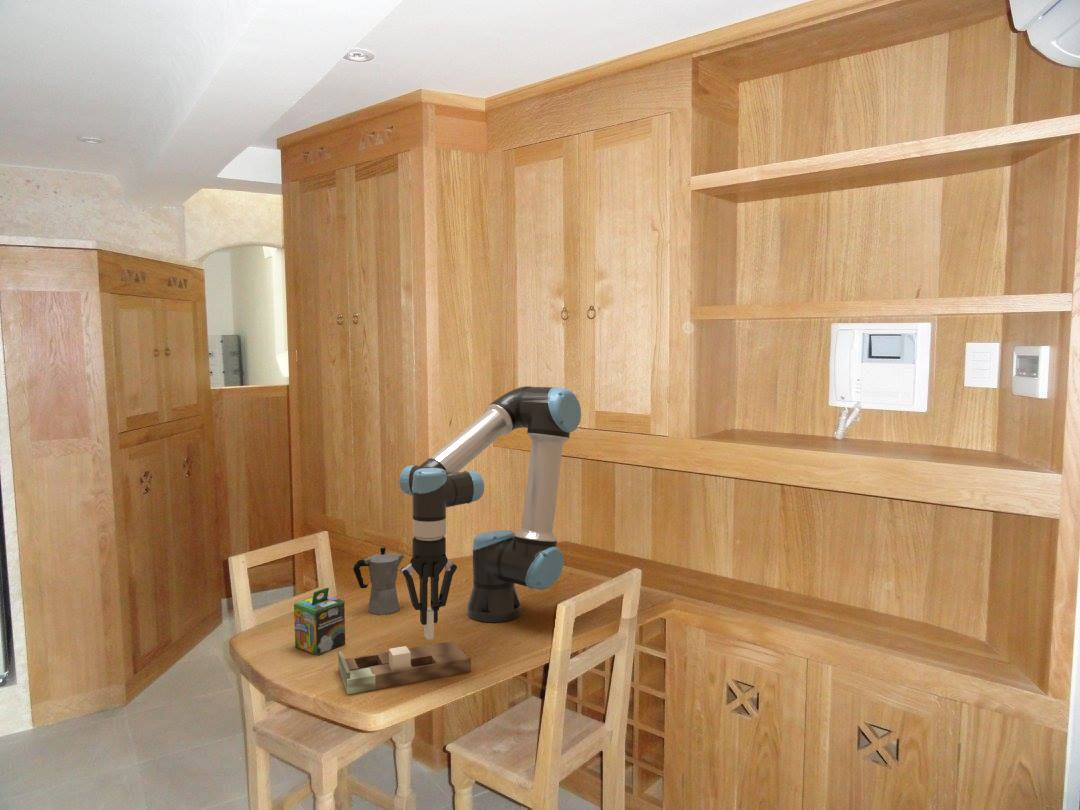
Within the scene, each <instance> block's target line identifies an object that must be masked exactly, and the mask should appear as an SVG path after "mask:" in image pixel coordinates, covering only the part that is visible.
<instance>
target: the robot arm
mask: <svg viewBox="0 0 1080 810" xmlns="http://www.w3.org/2000/svg"><path fill="white" fill-rule="evenodd" d="M581 408H582V407H581V404H580V401H579V399H578V398H577V396H576V394H575V393H574V392H573V391H571V390H570V389H567V388H561V387H555V386H553V387H549V386H548V387H546V386H531V385H530V386H527V385H524V386H520V387H518V388H514V389H512V390H509V391H508V392H506V393H504V394H502V395H501V396H499V397H498V398H496V399H495V400H494V401H492V402H491V403H490V404H488V405H487V406H486V407H485V409H484V412H483V414H482V415H481V416H479V417H478V418H477V419H476V420H474V421H473V422H472V423H471V424H470V425H468V426H467V427H466V428H465V429H463V430H462V431H461V432H460V433H458V434H456V436H455V437H453V438H452V439H450V441H449V442H447V443H446V444H445V445H443V446H442V447H441V448H440V449H439V450H438V451H436V452H435V453H433V455H431V456H430V457H429V458H427V460H425V461H424V462H422V463H421V464H420V465H417V464H415V465H407V466H406V467H404V468H403V469H402V471H401V472H400V474H399V478H398V479H399V481H398V482H399V483H398V485H399V487H400V490H401V491H402V492H403V493H404V494H406V495H409V496H411V497H412V500H411V501H412V536H413V538H412V557H411V559H410V561H409V564H408V565H407V566H406V567H402V568H400V572H401V573H402V575H403V576H404V578H405V583H406V585H407V590H408V595H409V598H410V602H411V606H412V607H413V609H415V611H419V612H420V613H419V621H420V624H421V625H422V626H423V628H424V629H423V630H424V631H423V633H424V634H423V635H424V637H425V639H426V640H427V641H428V640H434V638H435V636H434V631H435V630H434V629H435V627H434V626H435V625H434V624H437V623H438V621H439V618H438V616H439V610H440V608H441V607H445V606H446V605H447V603H448V602H447V601H448V597H449V592H450V588H451V585H452V580H453V575H454V573H455V572H456V570H457V569H458V565H456V564H455V563H454V562H453V561H452V562H451V561H449V559H448V557H447V555H446V553H447V552H446V549H447V547H446V545H447V541H446V539H447V538H446V537H445V535H446V534H447V524H446V523H447V521H446V520H447V508H450V507H455V506H456V507H457V506H461V505H465V504H468V505H469V504H471V503H473V502H476V501H478V500H480V499H482V497H483V495H484V492H485V482H484V478H483V477H482V476H481V474H479V472H477V471H475V470H470V471H469V470H464V471H461V470H462V469H464V468H465V466H468V464H469V463H470V462H472V461H473V460H474V459H475V458H476V457H478V456H479V455H480V454H481V453H482V452H483V451H484V450H486V449H487V448H488V447H489V446H490V445H492V444H493V443H494V442H495V441H496V440H498V438H500V437H501V436H502V435H503V436H505V435H508V434H510V433H511V432H513V431H514V430H516V429H520V428H521V429H523V428H525V429H527V432H526V435H527V436H528V438H529V439H530V441H531V445H530V452H529V461H528V468H527V469H528V470H527V476H526V486H525V492H524V501H523V509H522V516H521V526H520V529H519V530H518V531H516V533H515V532H514V531H513V530H508V529H498V530H491V531H485V532H482V533H478V534H477V535H475V536H474V538H473V545H472V572H473V573H472V575H473V577H472V579H473V580H472V581H473V586H472V587H473V588H472V590H471V592H470V596H469V599H468V603H467V608H466V611H467V616H468V617H469V618H470V619H472V620H474V621H478V622H483V623H503V622H508V621H511V620H515V619H517V618H518V617H519V616H521V614H522V605H521V601H520V598H519V595H518V592H517V588H516V585H519V586H524V587H527V588H528V589H531V590H532V589H535V590H540V591H543V590H547V589H550V588H551V587H552V586H554V585H555V583H556V582H557V581H558V580H559V578H560V576H561V574H562V572H563V568H564V564H565V563H564V561H565V560H564V556H563V552H562V550H561V549H560V548H559V547H557V546H558V545H557V542H558V538H557V537H556V536H555V534H554V533H553V530H554V529H553V528H554V522H555V514H556V505H557V498H558V497H557V495H558V490H559V489H558V488H559V481H560V480H559V479H560V472H561V471H560V470H561V463H562V457H563V455H562V454H563V449H564V448H563V447H564V445H565V444H566V442H568V441H570V435H571V433H573V432H574V431H576V430H577V429H578V427H579V425H580V423H581V419H582V409H581ZM443 569H444V570H445V571H444V574H443V579H442V583H441V587H440V589H439V581H440V574H441V572H442V571H443ZM413 570H414V571H415V572H416V574H417V576H418V579H419V599H418V594H417V590H416V587H415V583H414V582H415V581H414V578H413V574H414V573H413ZM429 578H430V607H428V598H429V597H428V592H429V591H428V584H429ZM515 584H516V585H515ZM439 590H440V591H439Z"/></svg>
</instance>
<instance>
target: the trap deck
mask: <svg viewBox="0 0 1080 810" xmlns="http://www.w3.org/2000/svg"><path fill="white" fill-rule="evenodd" d="M407 648H408V647H407ZM408 650H409V651H410V657H411V668H406V669H400V670H395V671H392V670H391V668H390V666H389V651H385V652H379V653H373V654H366V655H361V656H360V655H359V656H355V657H349V658H345V657H344V654H343V651H340V650H339V651H337V656H338V657H337V658H338V660H337V661H338V663H337V665H338V669H337V670H338V673H339V676H340V678H341V681H342V683H343V686H344V688H345V692H346V693H347V695H352V694H357V693H358V694H359V693H362V692H363V693H364V692H369V691H373V690H374V691H375V690H379V689H385V688H391V687H395V686H402V685H407V684H413V683H419V682H423V681H429V680H434V679H440V678H444V677H451V676H455V675H461V674H467V673H471V672H472V668H471V667H472V666H471V665H472V662H471V661H472V659H471V657H469V656H467V655H466V653H464V651H463V650H462V649H461V647H460V646H459V645H458V643H456V642H455V641H454V640H451V641H446V642H445V641H444V642H439V643H433V644H426V645H421V646H416V647H415V646H414V647H409V648H408Z"/></svg>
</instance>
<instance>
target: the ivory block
mask: <svg viewBox="0 0 1080 810" xmlns="http://www.w3.org/2000/svg"><path fill="white" fill-rule="evenodd" d="M388 652H389V666H390V668H391V670H392V671H395V670H400V669H406V668H411V657H410V651H409V650H408V647H407V645H404V646H398V647H392V648H388Z"/></svg>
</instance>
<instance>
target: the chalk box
mask: <svg viewBox="0 0 1080 810" xmlns="http://www.w3.org/2000/svg"><path fill="white" fill-rule="evenodd" d="M329 592H330V588H329V587H325V588H322V589H319V590H317V591H314V592H313V596H310V597H308V598H306V599H303V600H301V601H298V602H295V603H294V604H293V617H294V642H295V644H294V645H295V648H297V649H301V650H303V651H305V652H307V653H309V654H312V655H315V656H317V657H318V656H319V655H321V654H324V653H326V652H327V653H328V652H329V651H331V650H332V651H333V650H334V649H337V648H340V647H341V646H344V644H345V645H346V618H345V617H346V615H345V612H346V611H345V610H346V609H345V603H346V602H345V600H344V599H343V600H342V599H340V598H338V597H337V598H336V597H334V596H331V595H329Z"/></svg>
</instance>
